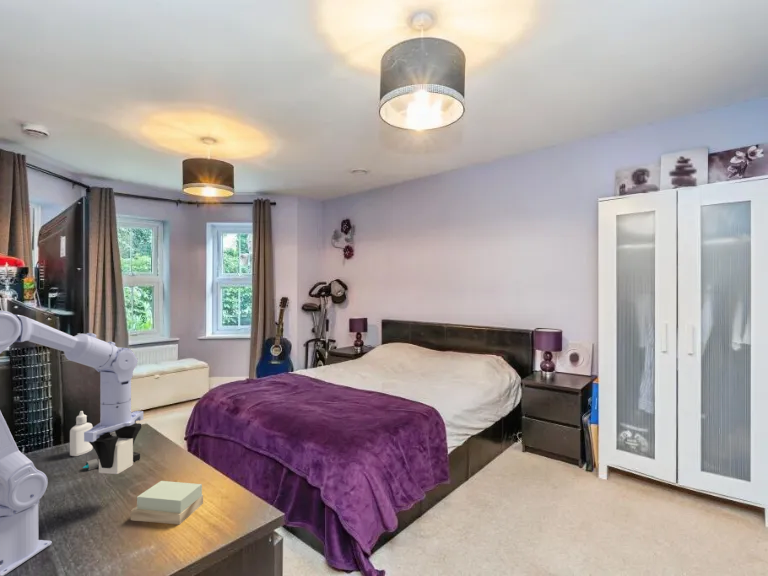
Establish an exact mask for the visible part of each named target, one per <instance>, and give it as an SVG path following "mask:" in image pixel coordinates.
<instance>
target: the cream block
mask: <svg viewBox="0 0 768 576" xmlns="http://www.w3.org/2000/svg"><path fill="white" fill-rule="evenodd" d="M133 452H134V444H133V439H132V438H118V440H117V443H116V446H115V450H114V462H113V466H112V467H111V468H102V467H101V464H100V461H99V467H98V474H108V475H109V474H112V475H118V474H120V473H122V472H124V471H125V470H127V469H129V468H130V467H132V466H133V465H134V462H133Z"/></svg>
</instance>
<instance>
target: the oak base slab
mask: <svg viewBox="0 0 768 576" xmlns="http://www.w3.org/2000/svg"><path fill="white" fill-rule="evenodd" d="M203 504H204V494H202V496H201V497H200V498H198V499H197V500H196V501H195V502H194V503H192V504H191V505H190V506H189V507H188V508H186V509H185V510H184V511H183V512H182V513H174V512H164V511H154V510H144V509H137V505H136V506H135V507H133V508H132V509H131V510H130V521H136V522H147V523H148V522H149V523H160V524H170V525H181V524H183V522H184V521H186V520H187V519H188V518H189V517H190V516H191V515H192V514H193V513H194V512H195V511H197V510H198V509H199V508H200V507H201V506H202V505H203Z"/></svg>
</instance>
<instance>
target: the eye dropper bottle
mask: <svg viewBox="0 0 768 576" xmlns="http://www.w3.org/2000/svg"><path fill="white" fill-rule="evenodd" d="M87 417H88V415H86V414H84V411H83V410H80V411H79V414H78V415H77V416H76V417H75V422H76V423H75V425H74V426H72V427H71V428H70V430H69V456H72V457H78V456H82V455H85V454H87V453H90V452H91V451H92V450H93V449H94V448H93V446H92V445H91V444H90V443H89V442H84V432H86V431H88V430H90V429H92V428H93V427H94V426H93V424H92V423H91V422H87Z"/></svg>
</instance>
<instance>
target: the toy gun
mask: <svg viewBox="0 0 768 576" xmlns="http://www.w3.org/2000/svg"><path fill="white" fill-rule="evenodd" d="M140 460H141V453H140V452H136V451H133V463H134V462H138V461H140ZM82 468H83V469H86V470H88V471H91V470H94V469H99V458H98V457H97V458H94V459H91V460H87V461H86V462H85V465H84V466H83V467H82Z"/></svg>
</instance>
